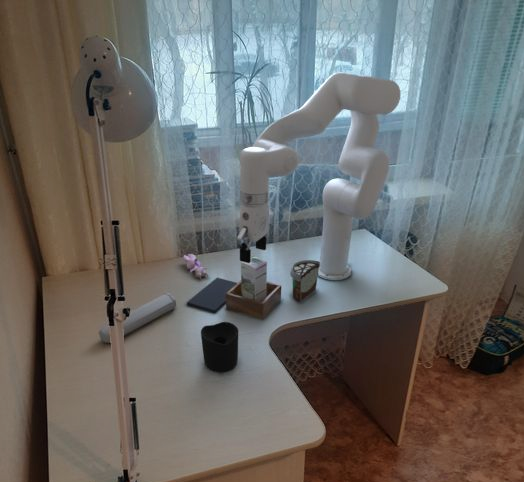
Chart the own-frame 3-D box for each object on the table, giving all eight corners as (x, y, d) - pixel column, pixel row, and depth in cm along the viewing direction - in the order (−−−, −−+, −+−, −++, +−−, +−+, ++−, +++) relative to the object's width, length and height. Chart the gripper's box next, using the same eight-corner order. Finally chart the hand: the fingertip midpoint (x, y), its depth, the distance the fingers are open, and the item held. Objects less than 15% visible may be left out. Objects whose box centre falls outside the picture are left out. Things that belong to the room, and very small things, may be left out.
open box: (245, 290, 161) (245, 275, 158) (280, 300, 156) (281, 285, 153) (226, 308, 152) (225, 293, 148) (262, 319, 147) (263, 303, 144)
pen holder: (210, 349, 135) (209, 318, 129) (243, 355, 133) (243, 324, 127) (197, 370, 128) (194, 338, 122) (231, 377, 126) (231, 345, 120)
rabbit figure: (212, 280, 168) (194, 257, 177) (213, 266, 164) (194, 242, 173) (195, 285, 166) (178, 260, 175) (195, 270, 162) (177, 246, 170)
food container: (302, 283, 165) (303, 255, 159) (318, 288, 162) (320, 261, 156) (281, 298, 157) (282, 270, 151) (298, 304, 154) (299, 276, 148)
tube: (107, 337, 132) (177, 299, 147) (95, 325, 133) (165, 289, 149) (107, 350, 136) (175, 312, 151) (94, 337, 137) (163, 301, 153)
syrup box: (267, 302, 154) (268, 260, 145) (254, 310, 150) (254, 267, 142) (253, 296, 157) (253, 254, 148) (240, 303, 153) (240, 261, 145)
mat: (217, 280, 166) (217, 277, 166) (243, 287, 163) (243, 284, 162) (187, 304, 153) (186, 302, 153) (214, 313, 150) (214, 310, 149)
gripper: (251, 209, 126) (250, 270, 136) (280, 190, 139) (277, 247, 149) (226, 204, 129) (226, 264, 139) (256, 185, 141) (255, 241, 151)
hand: (253, 255), depth 144 cm, fingers open, 9 cm apart
